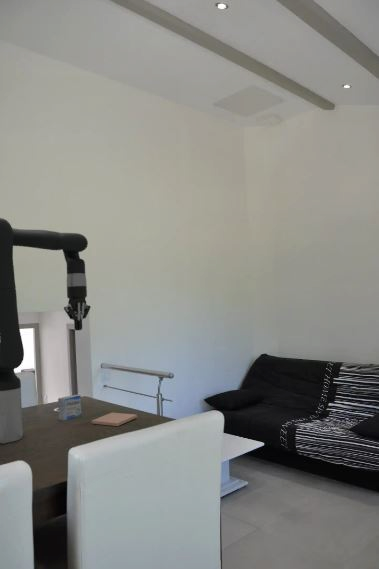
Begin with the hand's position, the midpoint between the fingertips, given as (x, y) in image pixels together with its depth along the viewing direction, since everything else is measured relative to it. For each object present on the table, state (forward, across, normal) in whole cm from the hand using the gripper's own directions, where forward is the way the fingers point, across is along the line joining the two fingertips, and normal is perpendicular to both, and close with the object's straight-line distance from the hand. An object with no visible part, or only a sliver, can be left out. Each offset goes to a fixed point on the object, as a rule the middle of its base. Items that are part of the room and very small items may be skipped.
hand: (78, 330), depth 183 cm
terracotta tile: (+34, -4, -14) cm, 37 cm away
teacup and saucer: (+36, +16, +21) cm, 45 cm away
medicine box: (+35, +2, +8) cm, 36 cm away
